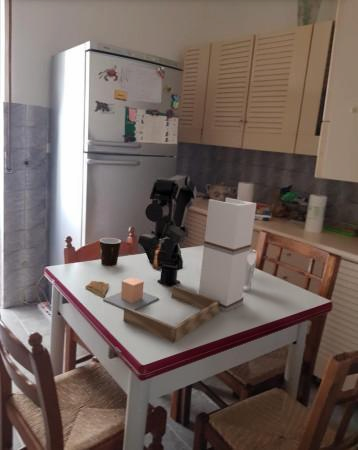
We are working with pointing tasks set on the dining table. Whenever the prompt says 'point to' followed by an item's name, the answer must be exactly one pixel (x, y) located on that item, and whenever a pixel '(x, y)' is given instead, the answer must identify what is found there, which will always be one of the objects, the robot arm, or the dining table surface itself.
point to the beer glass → (249, 269)
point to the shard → (98, 287)
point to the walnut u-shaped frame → (182, 328)
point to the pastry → (156, 259)
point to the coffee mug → (109, 251)
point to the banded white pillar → (226, 251)
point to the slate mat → (136, 305)
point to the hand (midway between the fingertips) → (160, 261)
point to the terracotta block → (132, 290)
